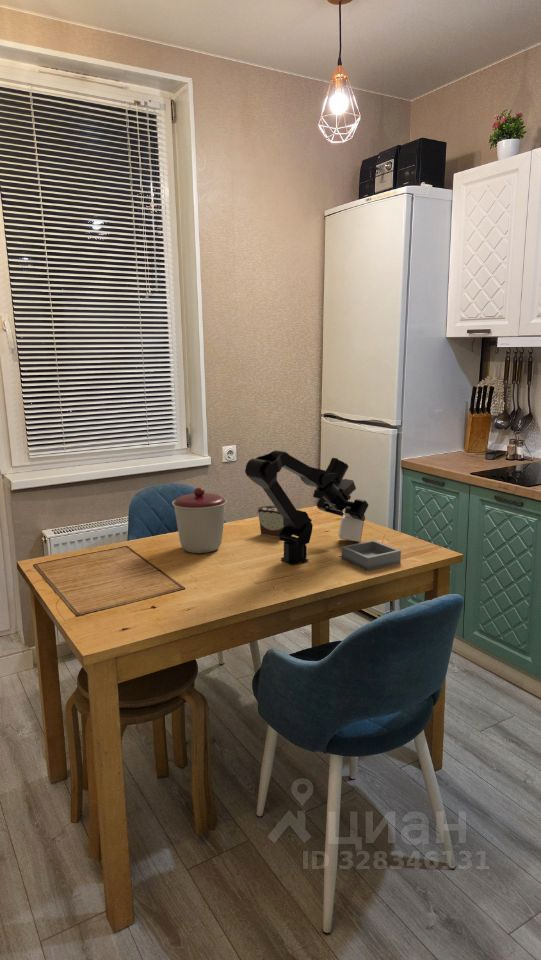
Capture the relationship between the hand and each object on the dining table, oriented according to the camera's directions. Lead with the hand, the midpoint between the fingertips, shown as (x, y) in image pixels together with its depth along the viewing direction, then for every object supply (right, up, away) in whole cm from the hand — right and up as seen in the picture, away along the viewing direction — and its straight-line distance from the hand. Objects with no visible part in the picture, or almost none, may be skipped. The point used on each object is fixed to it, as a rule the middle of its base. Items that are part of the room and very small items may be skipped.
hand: (353, 517), depth 213 cm
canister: (-52, -10, -5) cm, 53 cm away
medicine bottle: (-2, -8, 0) cm, 8 cm away
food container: (-27, -7, +11) cm, 29 cm away
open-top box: (+3, -13, -19) cm, 23 cm away
